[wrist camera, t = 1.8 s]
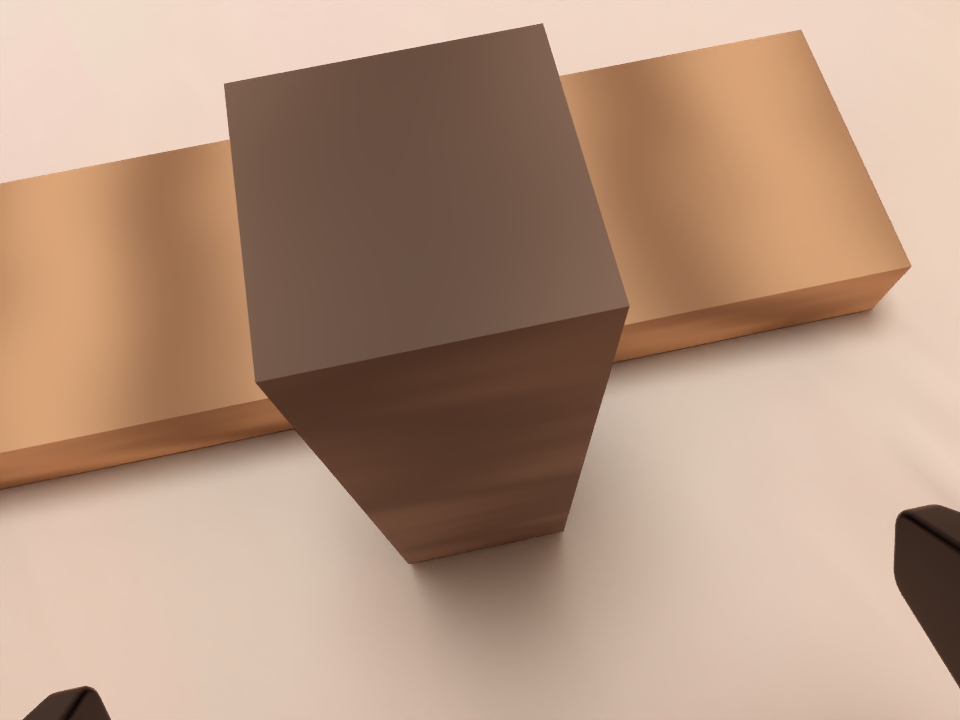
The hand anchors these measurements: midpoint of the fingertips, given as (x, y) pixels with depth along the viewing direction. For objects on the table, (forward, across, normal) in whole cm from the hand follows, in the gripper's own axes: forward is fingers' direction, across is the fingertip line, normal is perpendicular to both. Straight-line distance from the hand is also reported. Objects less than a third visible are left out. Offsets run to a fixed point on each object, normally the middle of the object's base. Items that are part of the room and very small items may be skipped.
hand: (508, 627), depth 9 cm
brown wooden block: (+14, 0, +2) cm, 14 cm away
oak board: (+16, +6, 0) cm, 17 cm away
